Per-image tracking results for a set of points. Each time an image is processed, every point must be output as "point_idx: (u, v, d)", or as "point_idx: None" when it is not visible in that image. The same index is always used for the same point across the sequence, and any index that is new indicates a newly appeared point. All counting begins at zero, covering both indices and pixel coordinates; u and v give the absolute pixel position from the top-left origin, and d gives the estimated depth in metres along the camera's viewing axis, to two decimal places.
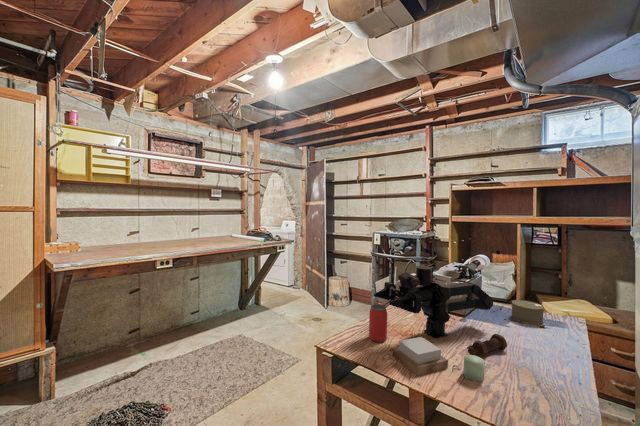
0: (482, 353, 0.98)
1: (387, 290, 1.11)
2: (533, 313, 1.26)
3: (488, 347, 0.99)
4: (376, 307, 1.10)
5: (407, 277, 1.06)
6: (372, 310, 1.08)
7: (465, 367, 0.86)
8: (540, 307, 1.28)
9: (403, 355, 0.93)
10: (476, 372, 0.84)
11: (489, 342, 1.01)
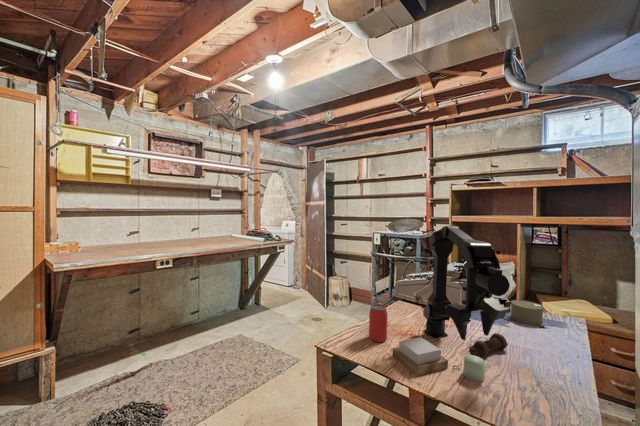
0: (484, 353, 0.98)
1: None
2: (532, 313, 1.26)
3: (489, 347, 0.99)
4: (376, 307, 1.10)
5: None
6: (372, 310, 1.08)
7: (465, 367, 0.86)
8: (539, 307, 1.28)
9: (403, 355, 0.93)
10: (476, 372, 0.84)
11: (490, 342, 1.01)
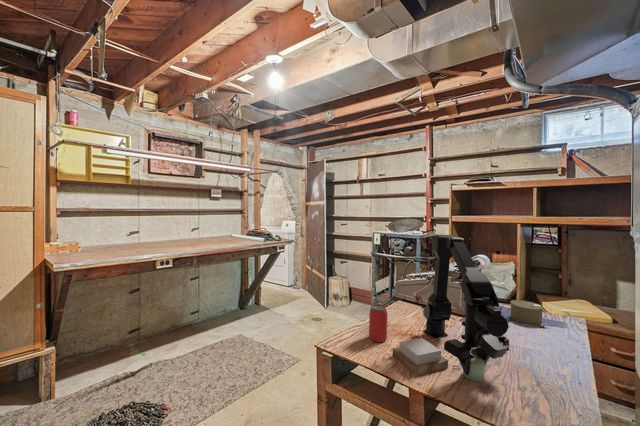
0: None
1: None
2: (532, 313, 1.26)
3: None
4: (376, 307, 1.10)
5: None
6: (372, 310, 1.08)
7: None
8: (539, 307, 1.28)
9: (403, 355, 0.93)
10: (476, 372, 0.84)
11: None
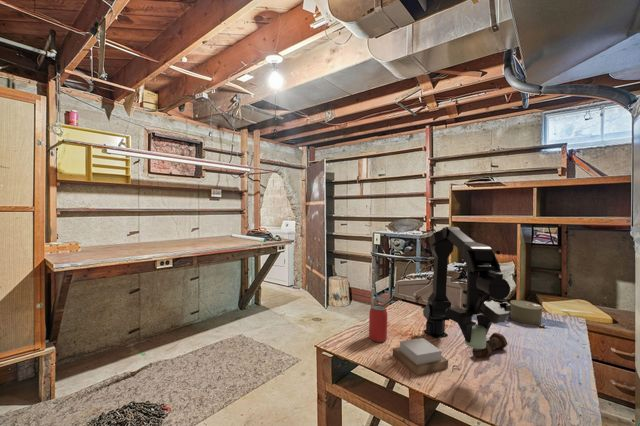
0: (486, 353, 0.98)
1: None
2: (531, 313, 1.26)
3: (491, 347, 0.99)
4: (376, 307, 1.10)
5: None
6: (372, 310, 1.08)
7: None
8: (538, 307, 1.28)
9: (403, 355, 0.93)
10: (478, 339, 0.84)
11: (491, 342, 1.01)
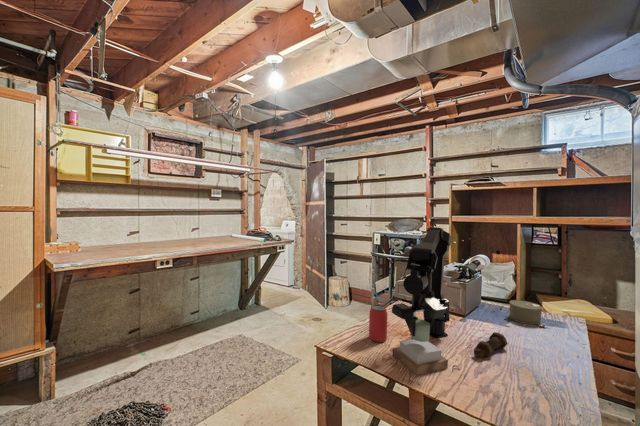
0: (488, 354, 0.98)
1: None
2: (531, 313, 1.26)
3: (492, 347, 1.00)
4: (376, 307, 1.10)
5: (443, 313, 0.87)
6: (372, 310, 1.08)
7: None
8: (538, 307, 1.28)
9: (403, 354, 0.93)
10: (421, 333, 0.91)
11: (492, 342, 1.01)
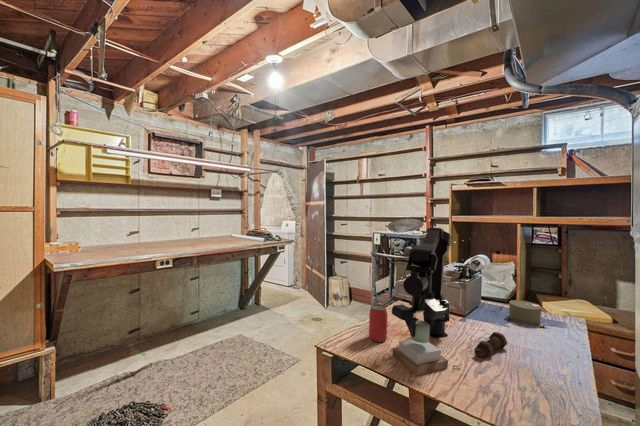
0: (488, 353, 0.98)
1: None
2: (530, 313, 1.26)
3: (492, 347, 1.00)
4: (376, 307, 1.10)
5: (443, 314, 0.87)
6: (372, 310, 1.08)
7: None
8: (538, 307, 1.28)
9: (403, 354, 0.93)
10: (421, 334, 0.91)
11: (492, 341, 1.01)
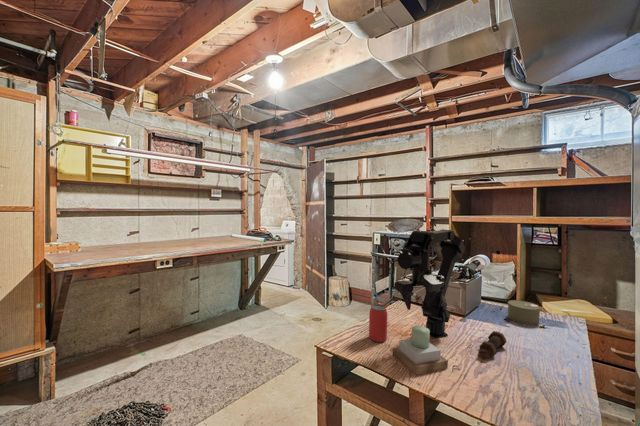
0: (492, 353, 0.98)
1: None
2: (529, 313, 1.25)
3: (494, 346, 1.00)
4: (376, 307, 1.10)
5: (439, 288, 0.99)
6: (372, 310, 1.08)
7: (412, 336, 0.94)
8: (536, 307, 1.28)
9: (403, 354, 0.94)
10: (421, 340, 0.92)
11: (493, 341, 1.02)
